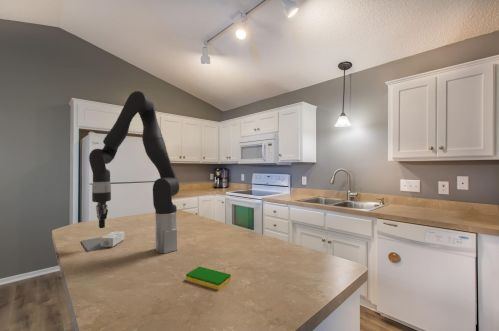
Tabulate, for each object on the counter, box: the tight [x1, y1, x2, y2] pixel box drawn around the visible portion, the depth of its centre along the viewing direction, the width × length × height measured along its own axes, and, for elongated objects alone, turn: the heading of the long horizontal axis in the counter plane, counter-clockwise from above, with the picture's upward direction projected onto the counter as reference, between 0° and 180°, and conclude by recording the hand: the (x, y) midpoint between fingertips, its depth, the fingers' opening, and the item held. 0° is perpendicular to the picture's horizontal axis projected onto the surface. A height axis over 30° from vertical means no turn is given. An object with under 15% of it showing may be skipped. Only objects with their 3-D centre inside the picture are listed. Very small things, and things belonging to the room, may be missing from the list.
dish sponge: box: [185, 266, 232, 291], centre depth 79 cm, size 7×14×2 cm, turn 62°
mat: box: [80, 236, 118, 252], centre depth 117 cm, size 19×12×1 cm, turn 43°
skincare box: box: [100, 230, 125, 248], centre depth 116 cm, size 6×4×12 cm
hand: (101, 227), depth 110 cm, fingers closed
